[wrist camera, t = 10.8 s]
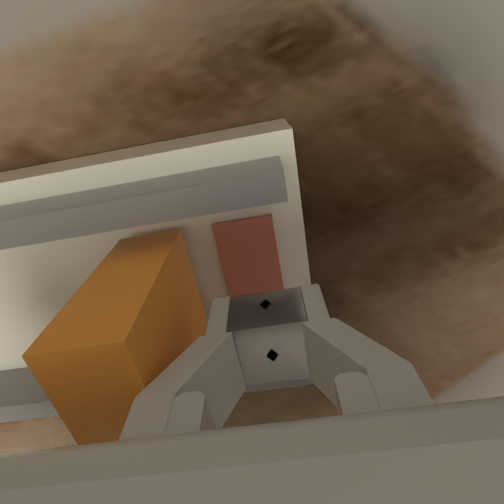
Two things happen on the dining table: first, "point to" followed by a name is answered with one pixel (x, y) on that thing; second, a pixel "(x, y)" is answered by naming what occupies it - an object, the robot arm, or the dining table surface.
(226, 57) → the dining table surface
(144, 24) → the dining table surface
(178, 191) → the switch box
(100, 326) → the toggle
